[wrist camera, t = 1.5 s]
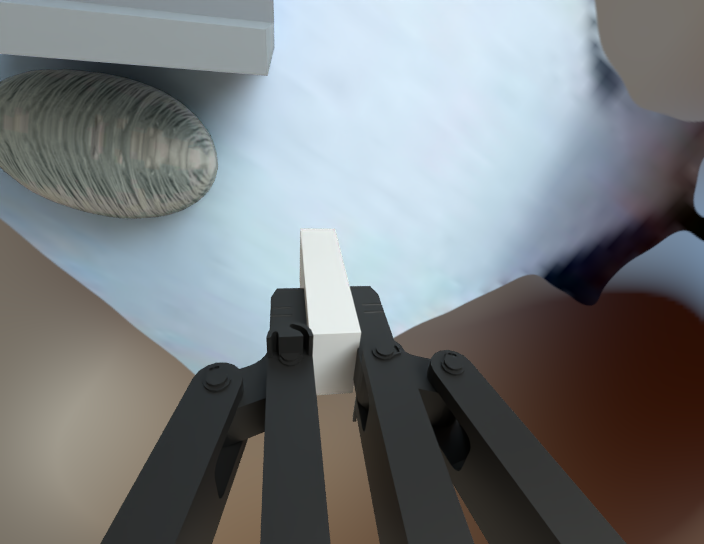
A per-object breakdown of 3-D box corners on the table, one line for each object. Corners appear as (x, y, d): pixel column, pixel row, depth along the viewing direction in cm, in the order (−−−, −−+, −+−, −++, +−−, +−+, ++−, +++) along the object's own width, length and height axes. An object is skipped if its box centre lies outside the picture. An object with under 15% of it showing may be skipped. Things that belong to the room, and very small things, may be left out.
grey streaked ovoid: (3, 200, 27) (-57, 198, 19) (11, 65, 26) (-48, 0, 18) (200, 226, 34) (222, 233, 26) (212, 120, 33) (238, 92, 25)
